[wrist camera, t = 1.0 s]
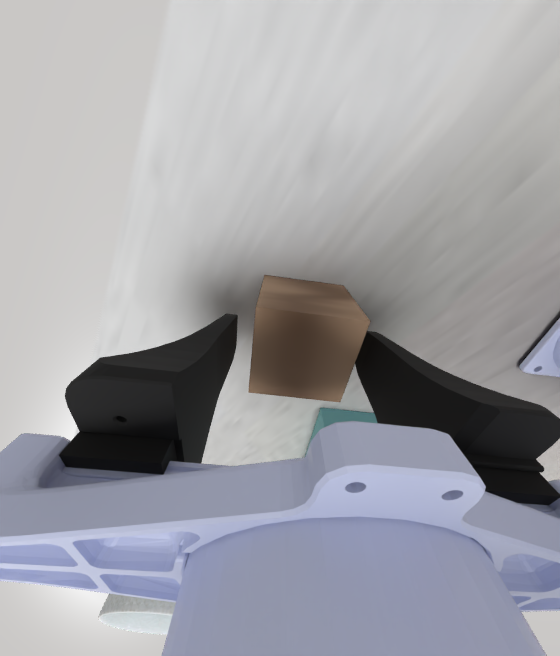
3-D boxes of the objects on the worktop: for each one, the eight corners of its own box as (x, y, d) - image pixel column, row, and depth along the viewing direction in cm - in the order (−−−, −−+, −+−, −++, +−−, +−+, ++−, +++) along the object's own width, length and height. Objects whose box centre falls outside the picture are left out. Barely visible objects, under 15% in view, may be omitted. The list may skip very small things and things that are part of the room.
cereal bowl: (112, 557, 38) (78, 625, 32) (157, 527, 32) (127, 605, 26) (196, 579, 43) (182, 642, 37) (249, 558, 37) (242, 628, 31)
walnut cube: (343, 285, 14) (370, 321, 10) (325, 349, 16) (340, 402, 12) (264, 274, 14) (255, 306, 9) (258, 341, 16) (248, 392, 12)
